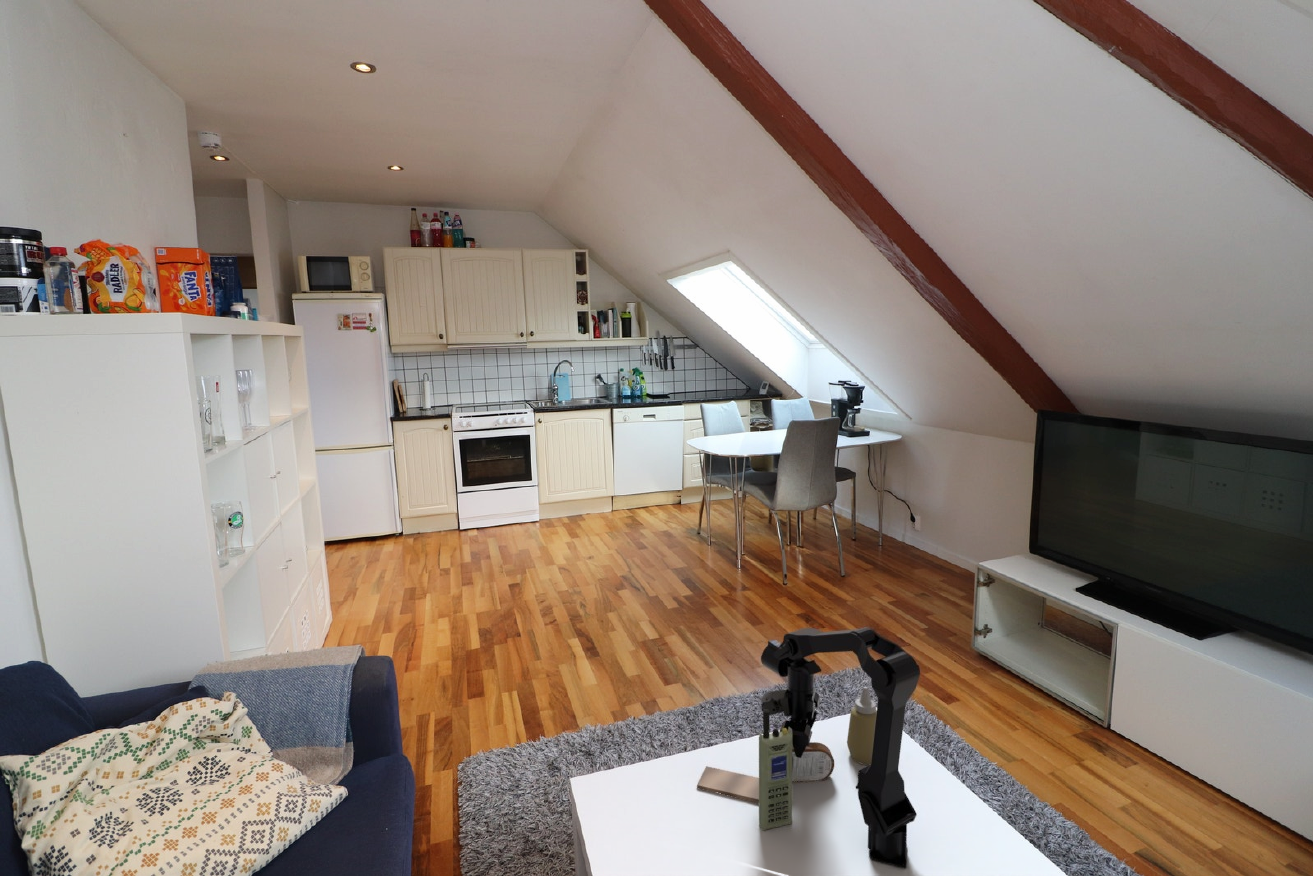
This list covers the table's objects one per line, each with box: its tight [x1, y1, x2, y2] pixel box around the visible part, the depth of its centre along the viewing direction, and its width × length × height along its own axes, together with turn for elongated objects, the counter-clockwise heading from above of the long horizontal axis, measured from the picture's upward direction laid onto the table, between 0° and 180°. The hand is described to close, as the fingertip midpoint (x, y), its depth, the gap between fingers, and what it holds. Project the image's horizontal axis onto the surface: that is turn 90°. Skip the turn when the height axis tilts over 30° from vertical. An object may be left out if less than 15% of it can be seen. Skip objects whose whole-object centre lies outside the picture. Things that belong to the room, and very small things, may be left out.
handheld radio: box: [758, 709, 793, 831], centre depth 128 cm, size 7×3×25 cm, turn 105°
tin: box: [792, 741, 835, 783], centre depth 141 cm, size 15×3×8 cm, turn 94°
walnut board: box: [696, 765, 759, 804], centre depth 140 cm, size 16×7×1 cm, turn 69°
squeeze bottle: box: [846, 686, 877, 766], centre depth 148 cm, size 8×8×18 cm
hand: (800, 751), depth 141 cm, fingers open, 4 cm apart
